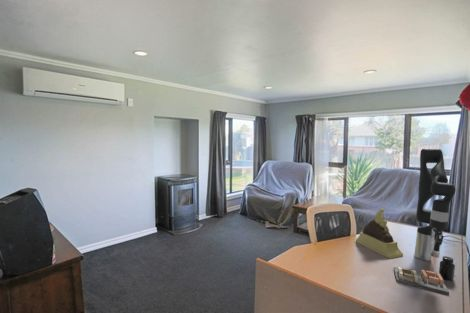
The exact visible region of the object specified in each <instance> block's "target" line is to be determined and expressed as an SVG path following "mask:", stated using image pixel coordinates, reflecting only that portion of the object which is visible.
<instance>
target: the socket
mask: <svg viewBox="0 0 470 313" xmlns="http://www.w3.org/2000/svg"><path fill="white" fill-rule="evenodd" d="M420 273H421V276H422V278H423V280H424V281H425V282H427V279H428V282H429V283H433V284H437V285H438V283H439V285H441V286H443V282H444V283H445V280H444V279H443V278H442V277H441V275H440V273H439V272H435V271H430V270H425V269H421V272H420ZM435 276H436V278H435ZM428 277H429V278H428Z"/></svg>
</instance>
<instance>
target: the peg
mask: <svg viewBox="0 0 470 313" xmlns="http://www.w3.org/2000/svg"><path fill="white" fill-rule="evenodd" d="M434 242H435V240H434V237H432V242H431V250H430V255H431V257H433V258H440V252H441V246H440V247H439V251H434ZM438 242H439V241H438Z"/></svg>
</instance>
